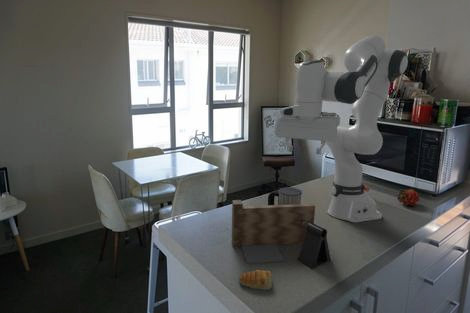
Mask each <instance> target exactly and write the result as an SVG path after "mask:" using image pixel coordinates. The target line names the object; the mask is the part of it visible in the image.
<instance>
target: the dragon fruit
mask: <svg viewBox="0 0 470 313" xmlns="http://www.w3.org/2000/svg"><path fill="white" fill-rule="evenodd" d="M397 200H398V202H399V203H402V202H403V203H404V204H405V205H408V206H410V205H414V206H413V207H415V206H416V204H417V202H419V201H420V197H419V194H418V192H417V191H415V190H414V189H413V188H411V189H408V188H407V189H405V190H400V191H399V193H398V197H397ZM403 203H402V204H403ZM405 205H404V206H405Z"/></svg>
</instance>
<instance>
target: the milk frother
mask: <svg viewBox="0 0 470 313" xmlns="http://www.w3.org/2000/svg"><path fill="white" fill-rule="evenodd" d="M302 194H303V191H302V190H301V189H299V188H296V187H290V186H289V187H288V186H285V187H280V188H279V189H278V190H273V191H271V192H270V193H269V194H268V195H267V196H268V197H267V205H275V197H277V205H294V204H302V203H301V202H302Z"/></svg>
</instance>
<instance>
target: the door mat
mask: <svg viewBox="0 0 470 313" xmlns="http://www.w3.org/2000/svg"><path fill="white" fill-rule="evenodd" d="M241 250H242V253H243V254H244V258H245V260H246V263H247V264H262V263H265V264H266V263H278V262H285V259H284V257H283V256H282V254H281V252H280V251H279V249H278V247H277V244H268V245H250V246H242V248H241Z"/></svg>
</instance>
